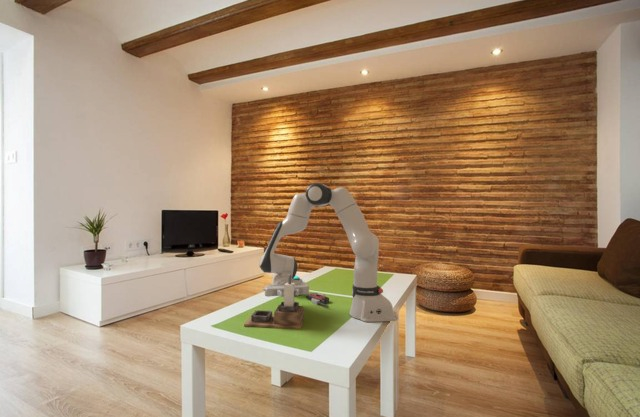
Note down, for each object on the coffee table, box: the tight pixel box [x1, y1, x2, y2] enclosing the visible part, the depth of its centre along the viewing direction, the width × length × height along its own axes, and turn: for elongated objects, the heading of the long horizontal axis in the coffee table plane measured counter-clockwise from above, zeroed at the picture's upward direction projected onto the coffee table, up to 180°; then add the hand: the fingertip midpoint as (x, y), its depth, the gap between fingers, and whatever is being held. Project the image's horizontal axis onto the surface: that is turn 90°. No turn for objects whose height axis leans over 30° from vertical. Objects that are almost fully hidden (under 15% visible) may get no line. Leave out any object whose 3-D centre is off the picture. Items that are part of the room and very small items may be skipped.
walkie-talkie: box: [305, 292, 330, 308], centre depth 169 cm, size 9×4×20 cm
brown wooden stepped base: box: [243, 301, 305, 330], centre depth 140 cm, size 24×13×8 cm, turn 86°
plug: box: [283, 274, 296, 307], centre depth 139 cm, size 4×5×15 cm
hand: (289, 294), depth 138 cm, fingers closed on plug, 5 cm apart
